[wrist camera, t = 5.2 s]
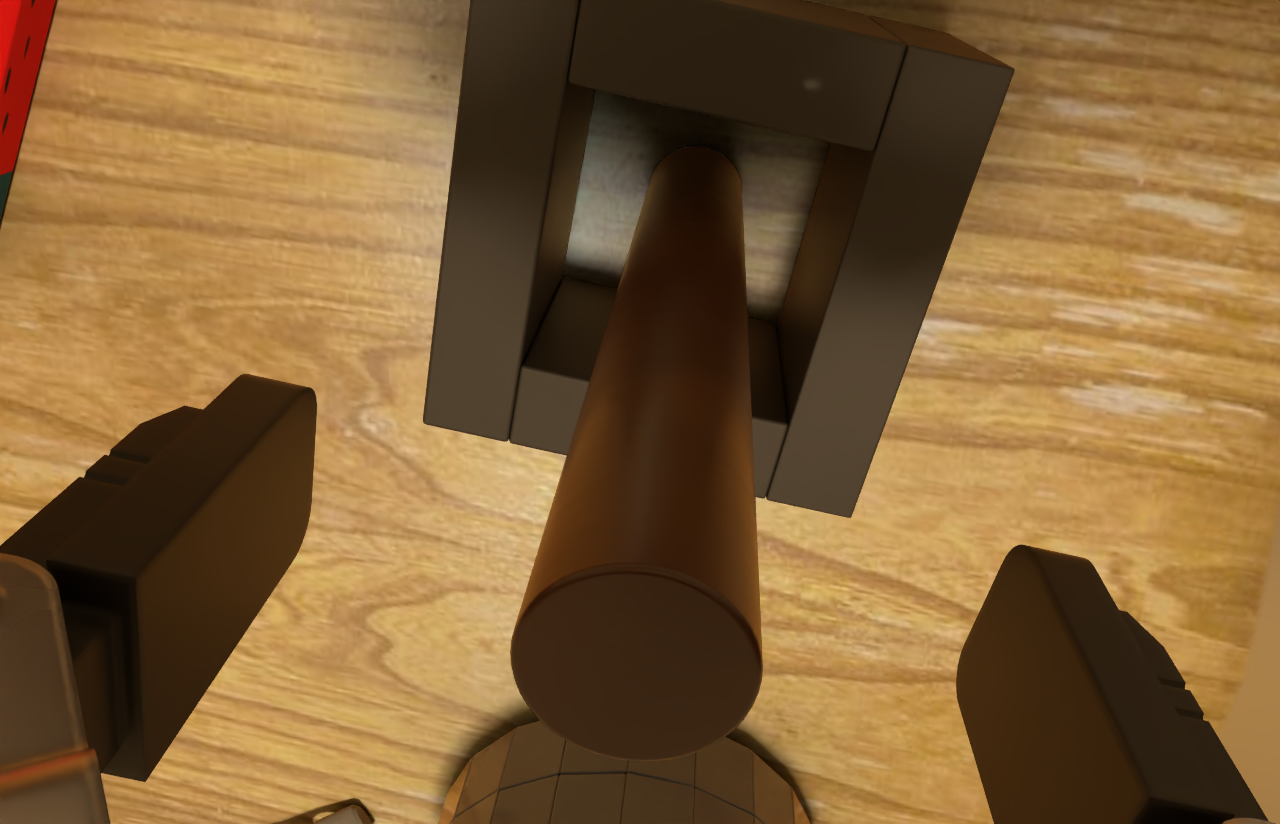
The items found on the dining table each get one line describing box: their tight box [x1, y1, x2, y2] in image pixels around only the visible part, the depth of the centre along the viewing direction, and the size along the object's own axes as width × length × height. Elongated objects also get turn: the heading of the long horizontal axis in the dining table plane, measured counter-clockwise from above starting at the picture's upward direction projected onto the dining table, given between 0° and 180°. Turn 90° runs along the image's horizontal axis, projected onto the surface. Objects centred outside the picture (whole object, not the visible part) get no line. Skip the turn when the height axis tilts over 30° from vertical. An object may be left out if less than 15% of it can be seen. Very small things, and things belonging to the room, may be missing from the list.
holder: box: [423, 0, 1014, 518], centre depth 23 cm, size 10×10×6 cm
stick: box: [510, 146, 763, 762], centre depth 17 cm, size 2×2×18 cm
